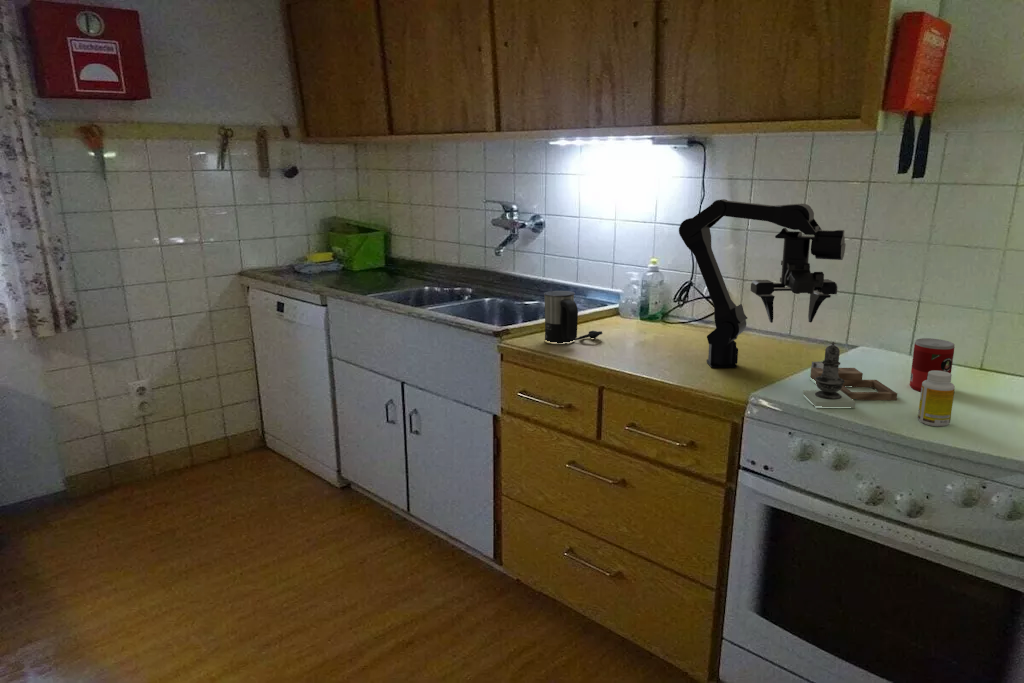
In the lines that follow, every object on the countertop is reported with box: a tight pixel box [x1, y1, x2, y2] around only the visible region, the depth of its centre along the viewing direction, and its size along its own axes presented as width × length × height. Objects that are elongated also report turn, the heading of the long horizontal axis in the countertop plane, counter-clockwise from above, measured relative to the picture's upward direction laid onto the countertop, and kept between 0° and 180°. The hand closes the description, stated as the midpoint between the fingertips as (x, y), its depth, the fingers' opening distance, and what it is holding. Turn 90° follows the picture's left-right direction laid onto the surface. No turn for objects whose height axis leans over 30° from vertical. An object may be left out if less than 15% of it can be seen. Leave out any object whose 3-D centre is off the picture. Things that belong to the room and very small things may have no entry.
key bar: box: [810, 361, 824, 369], centre depth 171 cm, size 4×7×3 cm, turn 177°
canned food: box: [909, 337, 955, 393], centre depth 160 cm, size 8×8×11 cm
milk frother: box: [543, 290, 603, 343], centre depth 209 cm, size 14×16×15 cm
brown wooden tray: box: [809, 367, 898, 401], centre depth 161 cm, size 13×15×3 cm
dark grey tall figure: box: [815, 341, 845, 400], centre depth 152 cm, size 6×6×12 cm
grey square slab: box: [802, 389, 856, 409], centre depth 153 cm, size 8×8×2 cm
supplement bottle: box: [917, 370, 956, 427], centre depth 139 cm, size 6×6×10 cm
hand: (790, 322), depth 171 cm, fingers open, 9 cm apart
